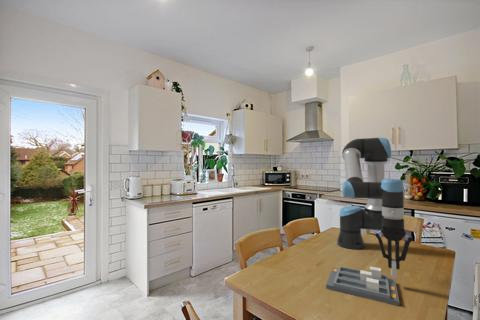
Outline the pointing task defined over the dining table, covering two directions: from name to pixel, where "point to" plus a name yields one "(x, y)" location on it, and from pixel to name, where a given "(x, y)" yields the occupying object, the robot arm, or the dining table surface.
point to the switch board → (362, 285)
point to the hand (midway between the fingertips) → (393, 276)
